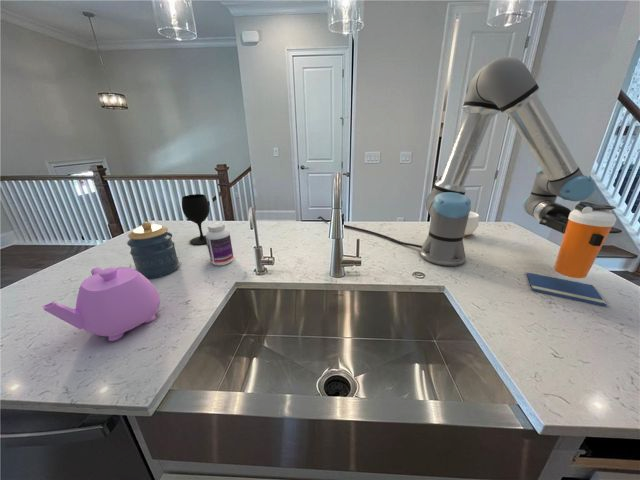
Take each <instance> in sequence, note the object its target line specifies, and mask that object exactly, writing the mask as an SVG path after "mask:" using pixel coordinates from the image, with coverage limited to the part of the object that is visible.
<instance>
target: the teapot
mask: <svg viewBox="0 0 640 480" xmlns="http://www.w3.org/2000/svg"><path fill="white" fill-rule="evenodd" d="M90 273H91V275H90V276H89V277H86V278H85V279H84V280H83V281H81V283H80V286H79V288H78V293H77V297H76V303H75V308H72V307H69V306H66V305H65V304H61V303H58V302H56V301H51V302H49V303H46V304H44V305H42V306H41V308H42V309H43V310H44V311H45V312H46V313H48V314H50V315H52V316H54V317H56V318H58V319H59V320H61V321H63V322H65V323H67V324H68V325H70V326H72V327H74V328H76V329H78V330H84V331H85V332H88V333H90V334H93V335H96V336H101V337H107V340H108V341H109V342H110V341H111V342H114V341H118V340H119V339H121V338H122V337H123V336H124V335H125V333H127V332H128V331H130V330H132V329H134V328H136V327H139V326H140V325H142V324H143V323H145V324H147V323H151V322H153V321H154V320H155V319H156V318H157V316H156V314H157V311H158V310H159V307H160V305H161V297H160V295H159V292H158V290H157V288H156V287H155V285H154V284H153V283H152V282H151V281H150V280H149V278H146V277H145V276H143V275H142V274H141V273H140V272H138V271H137V270H136V269H135V268H132V267H128V266H119V267H118V266H117V267H115V266H114V267H112V266H111V267H107V268H103V269H102V267H97V266H96V267H93V268H92V269H91V270H90Z"/></svg>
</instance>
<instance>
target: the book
mask: <svg viewBox="0 0 640 480" xmlns="http://www.w3.org/2000/svg"><path fill="white" fill-rule="evenodd" d="M526 276H527V279H528V282H529V285H530V288H531V291H533V292H538V293H541V294H546V295H551V296H556V297H560V298H565V299H569V300H575V301H579V302H584V303H588V304H593V305H598V306H602V307H607V305H608V304H607V302H606V301H605V300H604V299H603V297H602V296H601V294H600V293H599V292H598V291H597V289H596V288H595V286H593V284H589V283H584V282H578V281H573V280H567V279H562V278H559V277H558V278H557V277H552V276H548V275H547V276H546V275H541V274H537V273H532V272H526Z"/></svg>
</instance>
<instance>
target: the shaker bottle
mask: <svg viewBox="0 0 640 480" xmlns="http://www.w3.org/2000/svg"><path fill="white" fill-rule="evenodd" d="M615 209H617V207H616V206H614V205H613V206H612V205H609V204H608V205H607V204H585V203H581V202H578V203H577V204H575V205H574V208H573V210H571V212H570V214H569V217H568V223H567V227H566V230H565V233H564V234H563V237H562V240H561V243H560V247H559V249H558V253H557V257H556V259H555V263H554V267H553V268H554V269H553V270H554V271H555V272H556V273H558V274H560V275H563V276H566V277H568V278H573V279H585V278H587V276H588V274H589V272H590V270H591V269H592V266H593V265H594V263H595V261H596V259H597V257H598V255H599V253H600V251H601V249H602V247H603V245H604V244H605V241H606V239H607V238H608V236H609V234H610V232H611V230H612V229H613V227H615V224H616V222H617V220H618V219H617V217H616V215H615V214H614V213H612V212H613V210H615ZM593 234H600V235H602V236H604V238H603V241H602V243H601V245H600V246H592V245H591V244H589V241H590V239H591V237H592V235H593Z"/></svg>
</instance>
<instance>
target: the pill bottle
mask: <svg viewBox="0 0 640 480" xmlns="http://www.w3.org/2000/svg"><path fill="white" fill-rule="evenodd" d="M207 230H208V231H207V232H206V234H205V236H206V240H207V244H206V245H207V250H208V255H209V259H210V263H211V264H212V265H214V266H225V265H229V264H231V262H233V260H234V259H235V258H234V252H233V245H232V238H231V234H230V231H229V230H228V229H227V228H226V225H225V223H224V222H212V223H209V224H208V225H207Z"/></svg>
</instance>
